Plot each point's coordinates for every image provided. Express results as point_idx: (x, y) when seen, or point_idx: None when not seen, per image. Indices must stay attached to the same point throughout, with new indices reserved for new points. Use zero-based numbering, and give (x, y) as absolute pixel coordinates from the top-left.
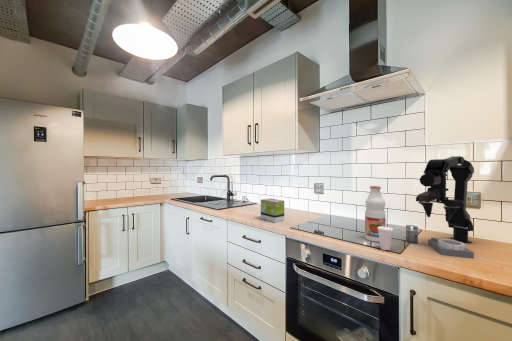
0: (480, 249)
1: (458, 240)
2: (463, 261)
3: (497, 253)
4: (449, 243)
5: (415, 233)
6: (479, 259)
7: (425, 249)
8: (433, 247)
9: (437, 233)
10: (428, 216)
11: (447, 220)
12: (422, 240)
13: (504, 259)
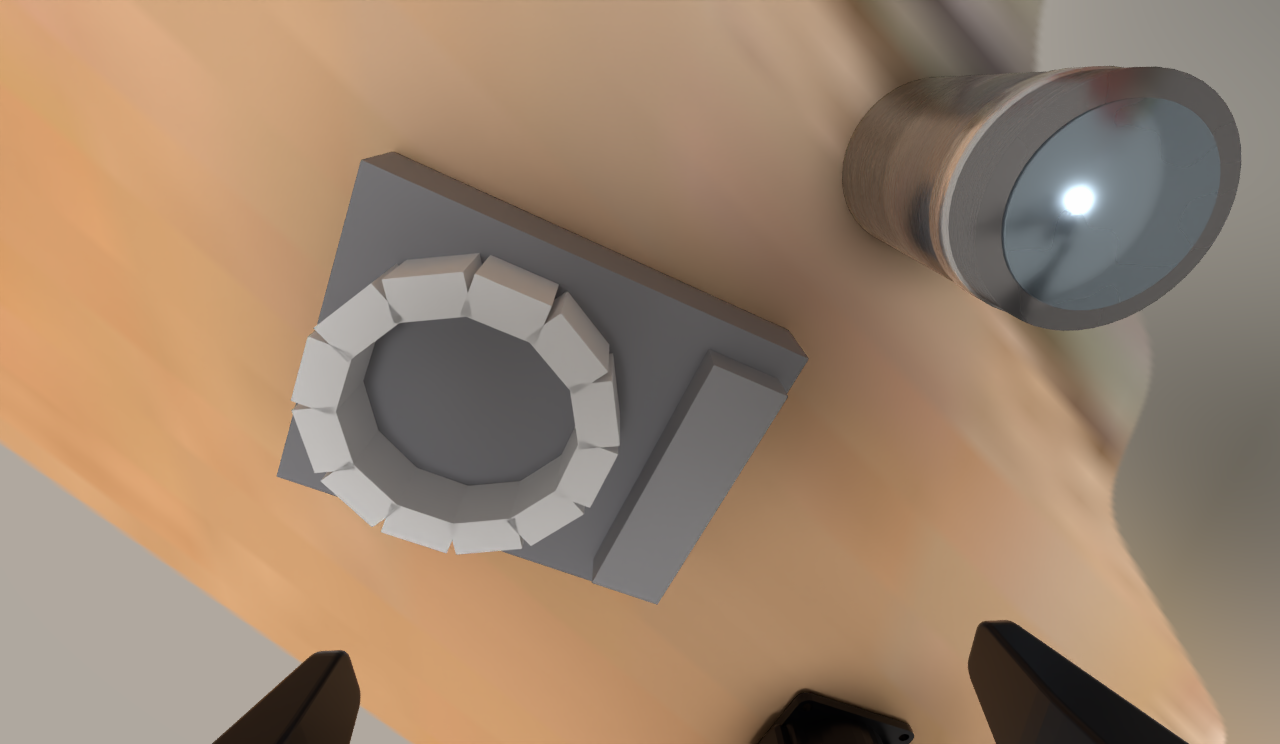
0: (576, 701)
1: (805, 721)
2: (182, 234)
3: (474, 733)
4: (561, 458)
5: (917, 180)
6: None
7: (603, 102)
8: (625, 260)
9: None
10: (989, 648)
11: (291, 689)
12: (938, 391)
13: None
